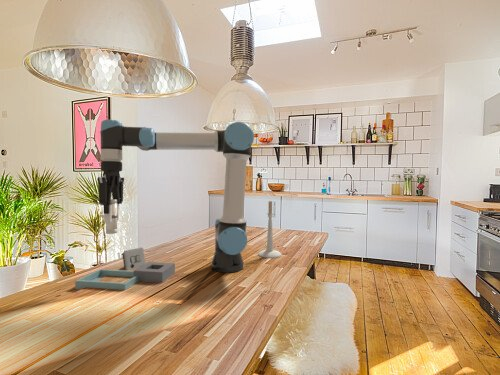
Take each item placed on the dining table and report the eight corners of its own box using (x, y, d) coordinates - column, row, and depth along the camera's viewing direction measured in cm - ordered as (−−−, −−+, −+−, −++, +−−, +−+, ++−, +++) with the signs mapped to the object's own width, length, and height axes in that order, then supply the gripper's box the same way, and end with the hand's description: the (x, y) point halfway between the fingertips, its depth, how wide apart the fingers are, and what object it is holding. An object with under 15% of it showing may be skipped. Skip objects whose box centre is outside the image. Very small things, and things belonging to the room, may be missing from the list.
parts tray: (144, 279, 117) (144, 271, 117) (125, 292, 103) (125, 283, 103) (100, 276, 120) (100, 269, 120) (75, 289, 106) (75, 280, 106)
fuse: (119, 232, 113) (119, 199, 112) (113, 234, 109) (113, 199, 108) (110, 231, 113) (109, 199, 113) (103, 233, 109) (103, 199, 109)
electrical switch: (127, 272, 125) (126, 251, 126) (121, 271, 129) (120, 250, 129) (146, 267, 133) (145, 247, 133) (140, 266, 136) (139, 246, 136)
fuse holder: (175, 274, 123) (175, 263, 123) (162, 285, 111) (162, 272, 111) (148, 273, 124) (148, 261, 124) (133, 283, 112) (133, 270, 112)
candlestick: (279, 252, 163) (280, 199, 163) (283, 258, 151) (283, 201, 150) (257, 252, 163) (258, 199, 162) (258, 258, 150) (259, 201, 150)
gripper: (116, 162, 119) (116, 218, 120) (87, 159, 102) (87, 224, 103) (132, 162, 118) (132, 218, 119) (106, 159, 101) (106, 224, 102)
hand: (111, 221), depth 111 cm, fingers closed on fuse, 4 cm apart
